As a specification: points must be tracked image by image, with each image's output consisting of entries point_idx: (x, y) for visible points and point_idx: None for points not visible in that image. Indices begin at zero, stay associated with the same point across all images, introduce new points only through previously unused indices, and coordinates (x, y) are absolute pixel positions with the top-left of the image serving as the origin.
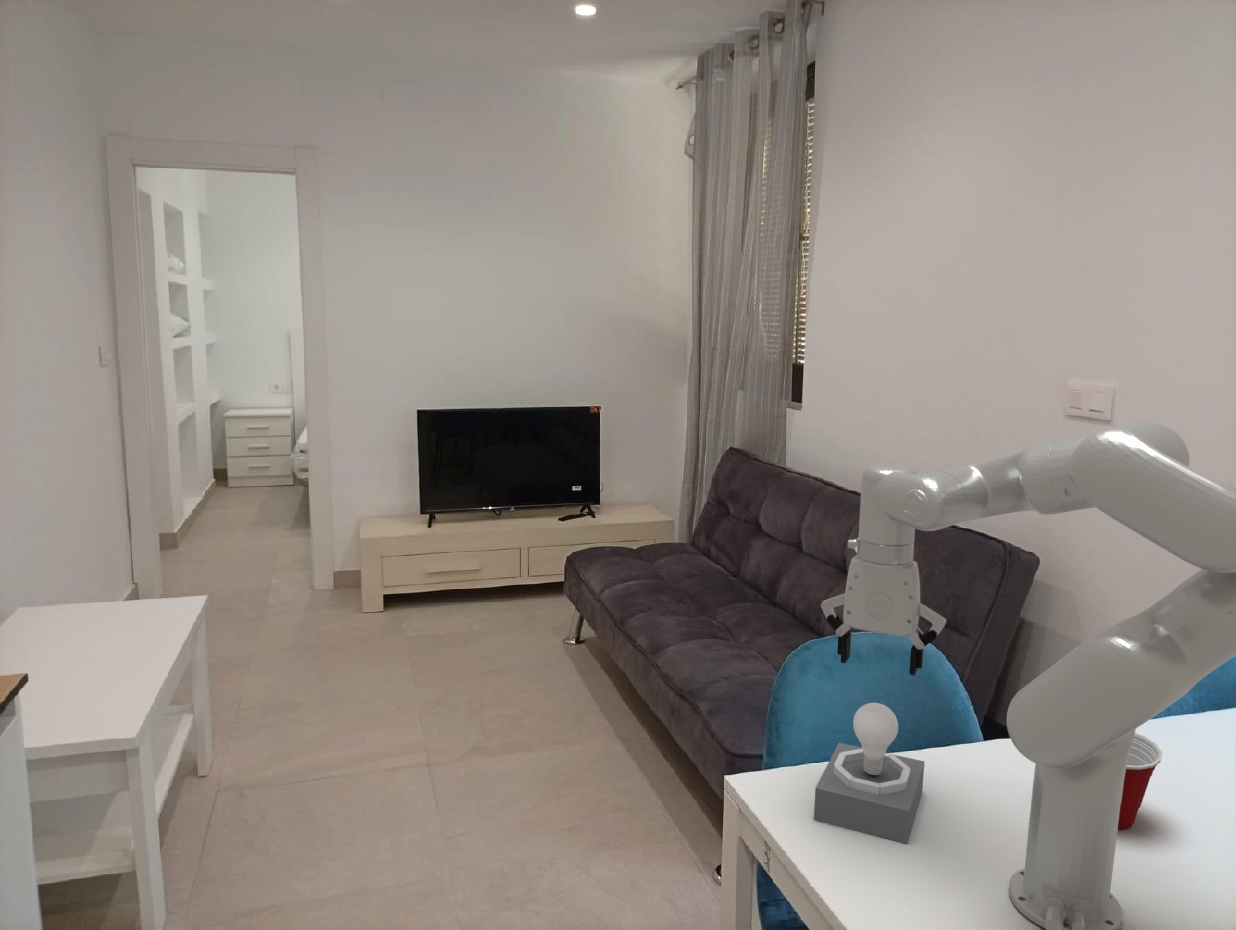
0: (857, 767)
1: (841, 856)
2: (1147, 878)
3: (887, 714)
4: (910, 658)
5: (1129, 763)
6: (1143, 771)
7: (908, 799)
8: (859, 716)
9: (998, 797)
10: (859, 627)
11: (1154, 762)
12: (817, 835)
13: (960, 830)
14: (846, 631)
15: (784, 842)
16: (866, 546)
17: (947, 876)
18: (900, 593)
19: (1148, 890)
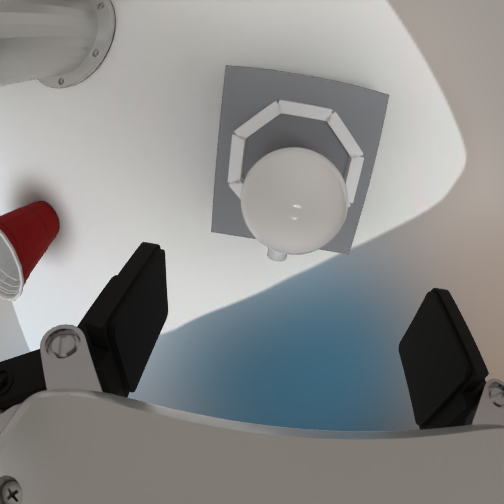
0: None
1: (326, 13)
2: (16, 128)
3: (264, 196)
4: (133, 292)
5: (10, 266)
6: None
7: (228, 100)
8: (338, 188)
9: (133, 225)
10: (470, 436)
11: None
12: (365, 53)
13: (168, 129)
14: (480, 406)
15: (406, 31)
16: None
17: (182, 19)
18: None
19: (16, 108)
